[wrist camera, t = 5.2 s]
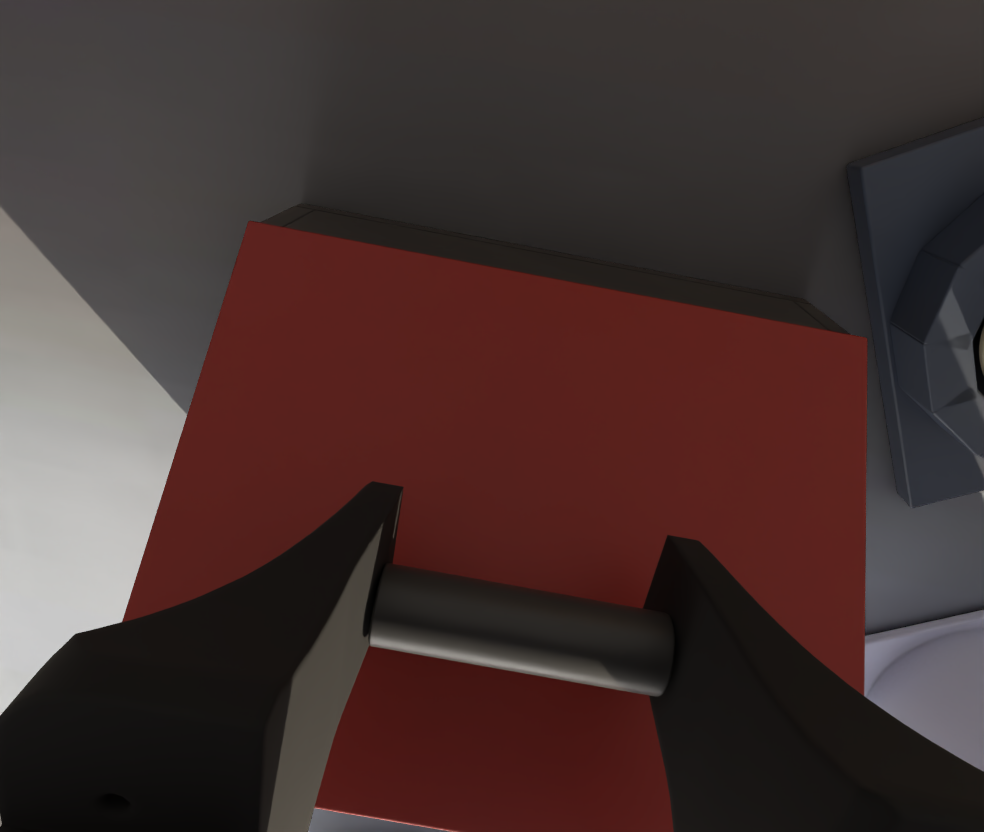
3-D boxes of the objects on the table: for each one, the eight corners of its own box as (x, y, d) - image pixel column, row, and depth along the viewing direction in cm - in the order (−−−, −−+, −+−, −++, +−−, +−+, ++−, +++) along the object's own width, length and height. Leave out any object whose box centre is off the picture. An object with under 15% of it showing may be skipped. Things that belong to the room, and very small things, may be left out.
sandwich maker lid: (847, 892, 14) (987, 980, 11) (89, 762, 14) (-33, 807, 10) (854, 346, 18) (961, 272, 14) (253, 232, 18) (206, 127, 14)
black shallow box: (695, 595, 26) (718, 668, 23) (280, 521, 26) (243, 584, 22) (806, 299, 21) (856, 337, 18) (300, 202, 21) (256, 223, 18)
